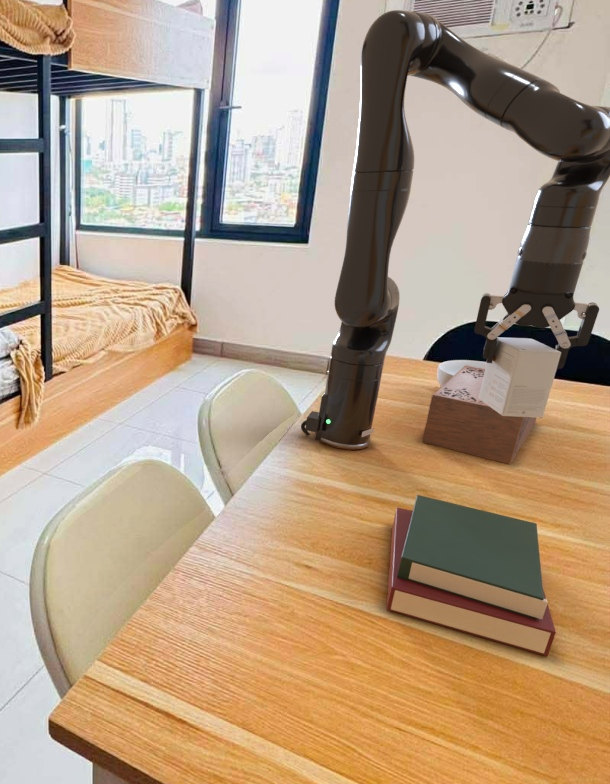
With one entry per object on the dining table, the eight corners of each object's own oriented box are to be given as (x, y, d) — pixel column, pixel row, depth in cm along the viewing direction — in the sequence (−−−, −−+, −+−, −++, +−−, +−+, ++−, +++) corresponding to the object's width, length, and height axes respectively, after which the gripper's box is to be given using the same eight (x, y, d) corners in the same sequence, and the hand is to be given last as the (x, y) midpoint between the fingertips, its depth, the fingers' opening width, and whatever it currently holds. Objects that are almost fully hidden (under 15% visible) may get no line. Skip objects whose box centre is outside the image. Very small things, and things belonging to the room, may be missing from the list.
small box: (543, 419, 94) (563, 352, 90) (501, 416, 95) (519, 350, 91) (515, 400, 101) (533, 337, 98) (476, 398, 102) (493, 336, 99)
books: (386, 610, 78) (396, 566, 76) (392, 526, 96) (400, 489, 94) (548, 657, 71) (565, 610, 68) (522, 557, 88) (534, 517, 86)
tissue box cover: (455, 407, 142) (465, 365, 138) (534, 424, 132) (547, 379, 129) (421, 441, 125) (432, 394, 121) (510, 464, 115) (524, 414, 112)
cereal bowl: (435, 382, 158) (441, 355, 156) (517, 394, 149) (525, 366, 146) (429, 402, 145) (435, 373, 143) (518, 417, 136) (527, 386, 133)
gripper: (612, 258, 89) (578, 368, 95) (489, 251, 97) (465, 353, 103) (619, 265, 83) (582, 381, 89) (488, 257, 91) (462, 364, 97)
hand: (520, 366), depth 96 cm, fingers closed on small box, 7 cm apart
